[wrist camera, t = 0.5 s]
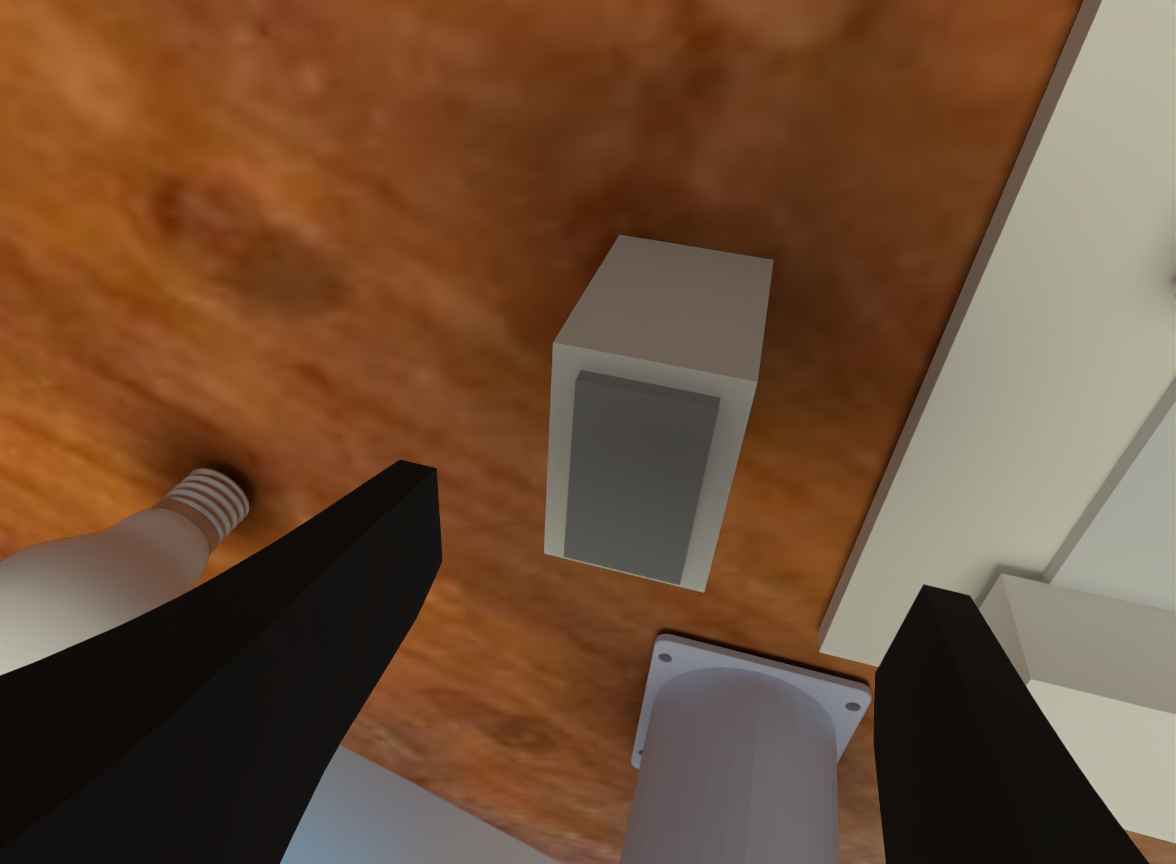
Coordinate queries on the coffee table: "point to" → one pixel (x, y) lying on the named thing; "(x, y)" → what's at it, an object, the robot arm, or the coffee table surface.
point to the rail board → (1048, 363)
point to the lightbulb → (113, 569)
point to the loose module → (653, 408)
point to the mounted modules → (1100, 689)
